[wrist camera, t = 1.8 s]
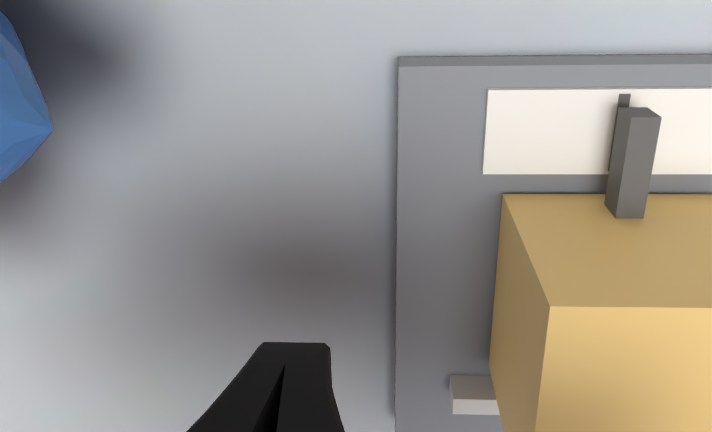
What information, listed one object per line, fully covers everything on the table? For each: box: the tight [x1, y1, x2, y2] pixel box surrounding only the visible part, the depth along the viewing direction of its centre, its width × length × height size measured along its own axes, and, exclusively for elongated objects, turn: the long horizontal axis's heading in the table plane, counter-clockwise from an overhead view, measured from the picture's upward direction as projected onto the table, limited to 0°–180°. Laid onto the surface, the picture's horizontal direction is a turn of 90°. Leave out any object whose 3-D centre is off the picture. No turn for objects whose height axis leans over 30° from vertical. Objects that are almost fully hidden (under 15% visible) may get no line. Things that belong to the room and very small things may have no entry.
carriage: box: [489, 107, 712, 432], centre depth 14 cm, size 7×5×5 cm
